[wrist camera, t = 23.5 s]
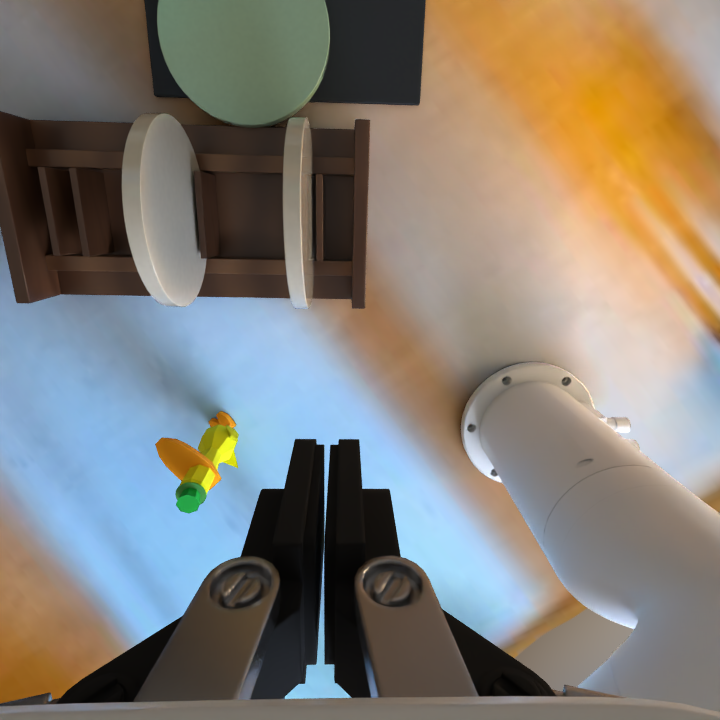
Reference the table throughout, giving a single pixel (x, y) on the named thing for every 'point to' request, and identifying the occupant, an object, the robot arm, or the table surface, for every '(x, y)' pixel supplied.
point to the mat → (346, 53)
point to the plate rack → (213, 200)
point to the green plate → (246, 55)
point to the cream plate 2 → (299, 212)
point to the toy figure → (199, 461)
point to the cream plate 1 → (162, 209)
